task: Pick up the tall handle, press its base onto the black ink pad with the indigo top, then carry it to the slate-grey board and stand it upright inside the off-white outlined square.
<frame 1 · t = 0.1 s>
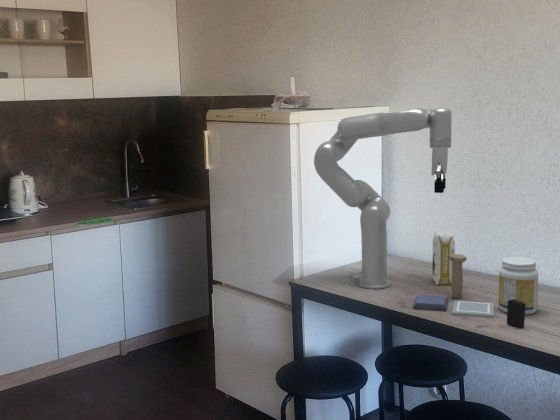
hand: (440, 190, 243), 37 cm above the table, tool pointing down, fingers open, 9 cm apart
ink cartridge: (515, 326, 208), on the table
juice carton: (443, 283, 257), on the table
ink pad: (431, 305, 230), on the table
marked board: (473, 309, 224), on the table
handle: (456, 297, 238), on the table
supplement tub: (517, 310, 223), on the table
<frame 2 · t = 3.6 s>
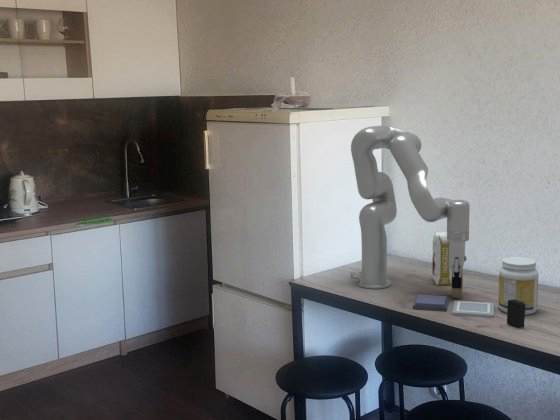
hand: (457, 285, 237), 4 cm above the table, tool pointing down, fingers closed on handle, 4 cm apart
handle: (456, 297, 238), on the table, touching gripper
everything else where it was.
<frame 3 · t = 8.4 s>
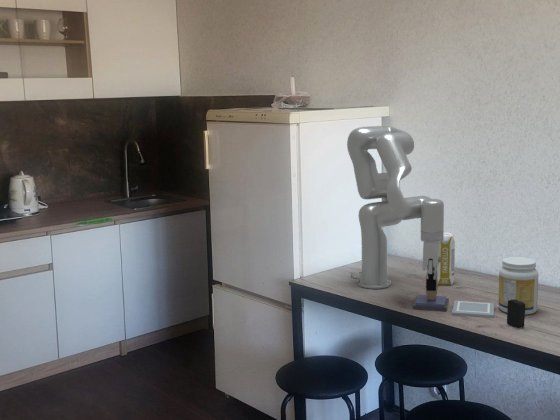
hand: (431, 288, 229), 6 cm above the table, tool pointing down, fingers closed on handle, 4 cm apart
handle: (431, 299, 230), point 2 cm above the table, touching gripper, ink pad
everything else where it was.
when the fingers open (7 cm above the table, at t = 13.3 s): handle drops 2 cm, resting on marked board.
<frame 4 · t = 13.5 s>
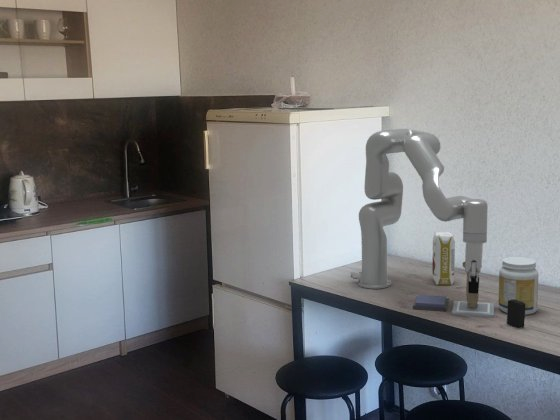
hand: (473, 290, 223), 7 cm above the table, tool pointing down, fingers open, 5 cm apart
handle: (472, 307, 224), point 1 cm above the table, touching marked board
everything else where it was.
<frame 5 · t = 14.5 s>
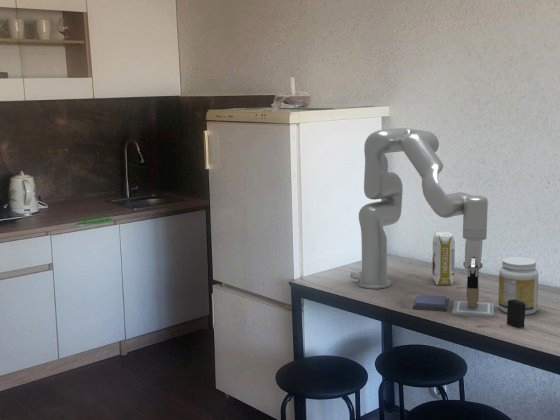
hand: (472, 283, 223), 9 cm above the table, tool pointing down, fingers open, 9 cm apart
nothing on the table moved.
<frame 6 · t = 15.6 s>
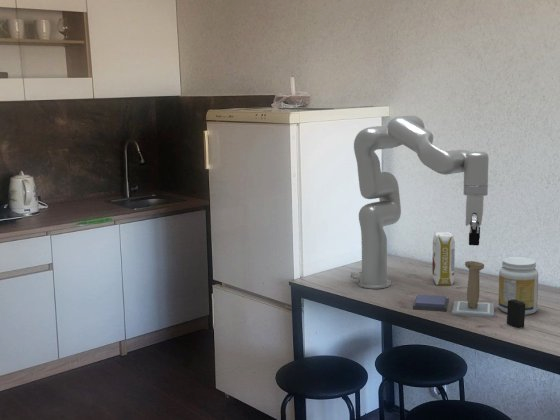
hand: (474, 241, 220), 23 cm above the table, tool pointing down, fingers open, 9 cm apart
nothing on the table moved.
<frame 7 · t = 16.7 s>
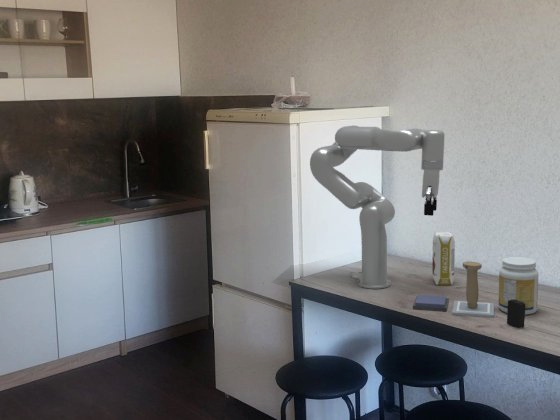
hand: (430, 212, 241), 29 cm above the table, tool pointing down, fingers open, 9 cm apart
nothing on the table moved.
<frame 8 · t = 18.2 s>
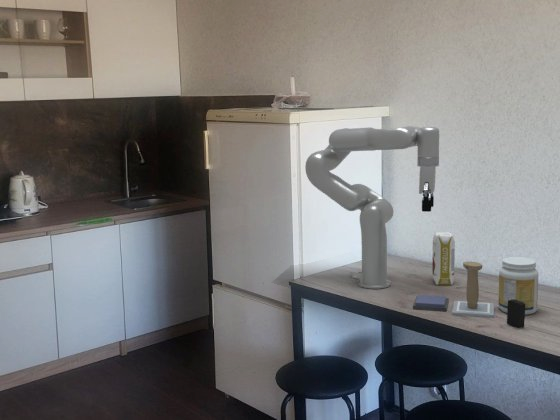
hand: (427, 209, 243), 30 cm above the table, tool pointing down, fingers open, 9 cm apart
nothing on the table moved.
at the end: handle 0.3 cm off-centre on the marked board, point 0.6 cm above the marked board's base; handle tilted 2°; the gripper is holding nothing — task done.
